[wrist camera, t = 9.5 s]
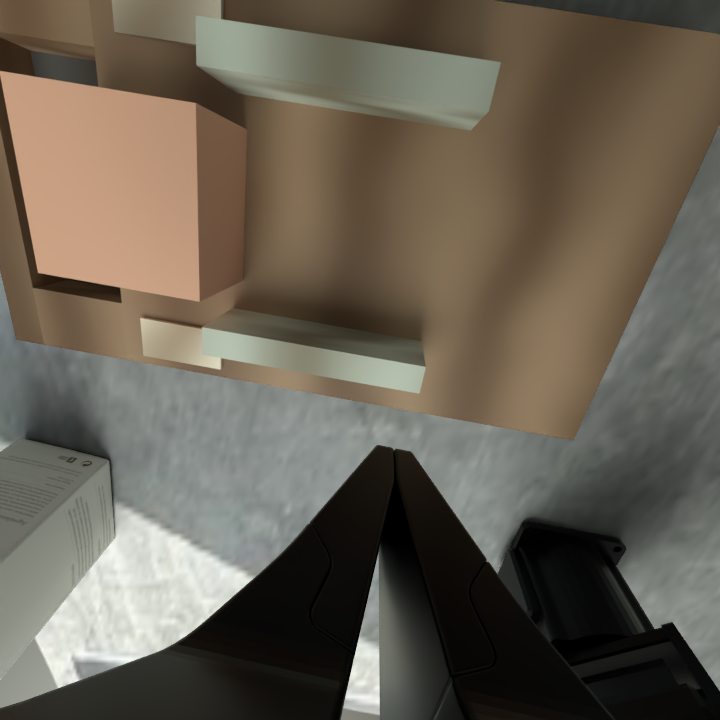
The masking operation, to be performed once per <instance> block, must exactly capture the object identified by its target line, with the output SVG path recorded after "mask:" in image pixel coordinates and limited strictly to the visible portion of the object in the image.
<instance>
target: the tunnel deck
mask: <svg viewBox="0 0 720 720" xmlns="http://www.w3.org/2000/svg"><path fill="white" fill-rule="evenodd" d="M0 71H4V72H10V73H16V74H22V75H28V76H34V77H40V78H46V79H52V80H59V81H65V82H71V83H77V84H83V85H89V86H95V87H101V88H107V89H113V90H119V91H125V92H131V93H137V94H143V95H150V96H156V97H162V98H168V99H174V100H180V101H186V102H192V103H197V104H199V105H200V106H202V107H204V108H206V109H208V110H210V111H212V112H214V113H216V114H218V115H220V116H222V117H224V118H226V119H228V120H230V121H231V122H233V123H235V124H237V125H239V126H241V127H243V128H245V129H247V154H246V189H245V224H244V260H243V281H242V282H240V283H238V284H236V285H233V286H231V287H229V288H227V289H225V290H223V291H221V292H219V293H217V294H215V295H213V296H211V297H208V298H206V299H204V300H202V301H200V302H198V301H193V300H187V299H181V298H176V297H170V296H165V295H159V294H153V293H148V292H142V291H137V290H131V289H125V288H120V287H114V286H109V285H103V284H98V283H92V282H86V281H81V280H75V279H70V278H64V277H58V276H53V275H47V274H42V273H38V270H37V265H36V260H35V254H34V249H33V244H32V239H31V234H30V228H29V223H28V218H27V213H26V207H25V202H24V197H23V192H22V187H21V181H20V176H19V171H18V166H17V161H16V155H15V150H14V145H13V140H12V134H11V129H10V124H9V119H8V114H7V108H6V103H5V98H4V93H3V87H2V82H1V77H0V271H1V275H2V280H3V284H4V288H5V292H6V297H7V301H8V305H9V309H10V314H11V318H12V322H13V327H14V331H15V335H16V339H17V340H22V341H27V342H33V343H38V344H44V345H49V346H55V347H61V348H66V349H72V350H77V351H83V352H88V353H94V354H99V355H105V356H110V357H116V358H121V359H127V360H132V361H138V362H143V363H149V364H154V365H160V366H165V367H171V368H177V369H182V370H188V371H193V372H199V373H204V374H210V375H215V376H221V377H226V378H232V379H237V380H243V381H248V382H254V383H259V384H265V385H270V386H276V387H282V388H287V389H293V390H298V391H304V392H309V393H315V394H320V395H326V396H331V397H337V398H342V399H348V400H353V401H359V402H364V403H370V404H375V405H381V406H386V407H392V408H398V409H403V410H409V411H414V412H420V413H425V414H431V415H436V416H442V417H447V418H453V419H458V420H464V421H469V422H475V423H480V424H486V425H491V426H497V427H503V428H508V429H514V430H519V431H525V432H530V433H536V434H541V435H547V436H552V437H558V438H563V439H569V440H574V438H575V436H576V433H577V431H578V429H579V427H580V425H581V423H582V421H583V418H584V416H585V414H586V412H587V410H588V408H589V405H590V403H591V401H592V399H593V397H594V395H595V392H596V390H597V388H598V386H599V384H600V382H601V379H602V377H603V375H604V373H605V371H606V369H607V366H608V364H609V362H610V360H611V358H612V356H613V353H614V351H615V349H616V347H617V345H618V343H619V340H620V338H621V336H622V334H623V332H624V330H625V327H626V325H627V323H628V321H629V319H630V317H631V315H632V312H633V310H634V308H635V306H636V304H637V302H638V299H639V297H640V295H641V293H642V291H643V289H644V286H645V284H646V282H647V280H648V278H649V276H650V273H651V271H652V269H653V267H654V265H655V263H656V260H657V258H658V256H659V254H660V252H661V250H662V247H663V245H664V243H665V241H666V239H667V237H668V234H669V232H670V230H671V228H672V226H673V224H674V221H675V219H676V217H677V215H678V213H679V211H680V208H681V206H682V204H683V202H684V200H685V198H686V196H687V193H688V191H689V189H690V187H691V185H692V183H693V180H694V178H695V176H696V174H697V172H698V170H699V167H700V165H701V163H702V161H703V159H704V157H705V154H706V152H707V150H708V148H709V146H710V144H711V141H712V139H713V137H714V135H715V133H716V131H717V128H718V126H719V124H720V34H716V33H710V32H703V31H696V30H689V29H683V28H676V27H669V26H663V25H656V24H649V23H643V22H636V21H629V20H623V19H616V18H609V17H603V16H596V15H589V14H582V13H576V12H569V11H562V10H556V9H549V8H542V7H536V6H529V5H522V4H516V3H509V2H502V1H496V0H0Z"/></svg>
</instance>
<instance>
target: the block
mask: <svg viewBox="0 0 720 720" xmlns="http://www.w3.org/2000/svg"><path fill="white" fill-rule="evenodd" d="M0 77H1V82H2V87H3V93H4V98H5V103H6V108H7V114H8V119H9V124H10V129H11V134H12V140H13V145H14V150H15V155H16V161H17V166H18V171H19V176H20V181H21V187H22V192H23V197H24V202H25V207H26V213H27V218H28V223H29V228H30V234H31V239H32V244H33V249H34V254H35V260H36V265H37V270H38V273H42V274H47V275H53V276H58V277H64V278H70V279H75V280H81V281H86V282H92V283H98V284H103V285H109V286H114V287H120V288H125V289H131V290H137V291H142V292H148V293H153V294H159V295H165V296H170V297H176V298H181V299H187V300H193V301H198V302H200V301H202V300H204V299H206V298H208V297H211V296H213V295H215V294H217V293H219V292H221V291H223V290H225V289H227V288H229V287H231V286H233V285H236V284H238V283H240V282H242V281H243V260H244V224H245V189H246V154H247V129H245V128H243V127H241V126H239V125H237V124H235V123H233V122H231V121H230V120H228V119H226V118H224V117H222V116H220V115H218V114H216V113H214V112H212V111H210V110H208V109H206V108H204V107H202V106H200V105H199V104H197V103H192V102H186V101H180V100H174V99H168V98H162V97H156V96H150V95H143V94H137V93H131V92H125V91H119V90H113V89H107V88H101V87H95V86H89V85H83V84H77V83H71V82H65V81H59V80H52V79H46V78H40V77H34V76H28V75H22V74H16V73H10V72H4V71H0Z"/></svg>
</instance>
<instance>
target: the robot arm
mask: <svg viewBox="0 0 720 720" xmlns="http://www.w3.org/2000/svg"><path fill="white" fill-rule="evenodd" d="M529 530H530V531H529ZM625 551H626V547H625V545H624V544H623V542H622V541H621V540H620V539H617V538H612V537H607V536H601V535H596V534H591V533H585V532H580V531H575V530H569V529H564V528H559V527H553V526H548V525H543V524H537V523H532V522H527V523H524V524H522V526H521V527H520V529H519V532H518V534H517V536H516V538H515V541H514V543H513V545H512V547H511V549H510V550H509V551H508V553H507V555H506V557H505V559H504V562H503V564H502V566H501V568H500V571H499V573H498V574H497V573H496V572H495V570H494V569H493V567H492V566H491V564H490V563H489V562H486V561H487V560H486V558H485V556H484V555H483V553H482V552H481V550H480V549H479V548H478V546H477V545H476V543H475V542H474V540H473V539H472V538H471V536H470V535H469V533H468V532H467V530H466V529H465V528H464V526H463V525H462V523H461V522H460V520H459V519H458V518H457V516H456V515H455V513H454V512H453V510H452V509H451V508H450V506H449V505H448V503H447V502H446V501H445V499H444V498H443V496H442V495H441V493H440V492H439V491H438V489H437V488H436V486H435V485H434V483H433V482H432V481H431V479H430V478H429V476H428V475H427V473H426V472H425V471H424V469H423V468H422V466H421V465H420V463H419V462H418V461H417V459H416V458H415V456H414V455H413V454H412V452H410V451H406V450H401V449H395V450H393V448H391V447H386V446H381V445H377V446H376V447H375V448H374V449H373V450H372V451H371V452H370V453H369V455H368V456H367V457H366V458H365V459H364V460H363V462H362V463H361V464H360V465H359V466H358V467H357V468H356V470H355V471H354V472H353V473H352V474H351V475H350V477H349V478H348V479H347V480H346V481H345V482H344V483H343V485H342V486H341V487H340V488H339V489H338V490H337V492H336V493H335V494H334V495H333V496H332V497H331V498H330V500H329V501H328V502H327V503H326V504H325V505H324V507H323V508H322V509H321V510H320V511H319V512H318V513H317V515H316V516H315V517H314V518H313V519H312V520H311V522H310V524H308V525H307V526H306V527H305V528H304V529H303V530H302V532H301V533H300V534H299V535H298V536H297V537H296V538H295V539H294V540H293V542H292V543H291V544H290V545H289V546H288V547H287V548H286V549H285V550H284V551H283V552H282V553H281V554H280V555H279V556H278V557H277V558H276V559H275V560H274V561H273V562H271V563H270V564H269V565H268V566H267V567H266V568H265V569H264V570H263V571H262V572H261V573H260V574H258V575H257V576H256V577H255V578H254V579H253V580H252V581H250V582H249V583H248V584H247V585H246V586H245V587H244V588H242V589H241V590H240V591H239V592H238V593H237V594H236V595H234V596H233V597H232V598H231V599H230V600H229V601H228V602H226V603H225V604H224V605H223V606H222V607H221V608H220V609H218V610H217V611H216V612H215V613H214V614H213V615H212V616H210V617H209V618H208V619H207V620H206V621H205V622H203V623H202V624H201V625H200V626H199V627H197V628H196V629H195V630H194V631H192V632H191V633H190V634H188V635H187V636H185V637H184V638H182V639H181V640H179V641H178V642H176V643H175V644H173V645H171V646H169V647H167V648H165V649H163V650H161V651H159V652H156V653H154V654H151V655H148V656H146V657H143V658H140V659H137V660H135V661H132V662H129V663H126V664H124V665H121V666H118V667H115V668H113V669H110V670H107V671H105V672H102V673H99V674H96V675H94V676H91V677H88V678H85V679H83V680H80V681H77V682H74V683H72V684H69V685H66V686H64V687H61V688H58V689H56V690H53V691H50V692H47V693H45V694H42V695H39V696H36V697H34V698H31V699H28V700H25V701H23V702H19V703H16V704H13V705H10V706H6V707H3V708H0V720H341V715H342V710H343V705H344V700H345V695H346V691H347V686H348V682H349V677H350V673H351V669H352V664H353V659H354V655H355V651H356V647H357V643H358V638H359V634H360V630H361V625H362V621H363V617H364V612H365V608H366V604H367V599H368V595H369V591H370V586H371V582H372V578H373V573H374V569H375V565H376V560H377V556H378V552H379V654H380V720H720V691H719V690H718V688H717V687H716V685H715V684H714V682H713V681H712V679H711V678H710V676H709V675H708V674H707V672H706V671H705V669H704V668H703V666H702V665H701V663H700V662H699V660H698V659H697V657H696V656H695V655H694V653H693V652H692V650H691V649H690V647H689V646H688V644H687V643H686V641H685V640H684V639H683V637H682V636H681V634H680V633H679V631H678V630H677V628H676V627H675V625H674V624H673V623H672V622H671V623H667V624H663V625H661V626H662V627H661V628H658V629H654V627H653V626H652V624H651V622H650V621H649V619H648V617H647V616H646V614H645V612H644V611H643V609H642V608H641V606H640V604H639V603H638V601H637V599H636V598H635V596H634V594H633V593H632V591H631V590H630V588H629V586H628V585H627V583H626V581H625V580H624V578H623V576H622V575H621V573H620V571H619V570H618V568H617V567H616V565H617V564H618V562H619V561H620V559H621V557H622V556H623V554H624V552H625Z"/></svg>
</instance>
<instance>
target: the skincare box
mask: <svg viewBox="0 0 720 720" xmlns="http://www.w3.org/2000/svg"><path fill="white" fill-rule="evenodd" d="M114 539H115V532H114V519H113V506H112V492H111V478H110V465H109V460H107V459H104V458H100V457H97V456H93V455H89V454H85V453H81V452H77V451H73V450H69V449H65V448H61V447H57V446H52V445H48V444H44V443H40V442H36V441H31V440H27V439H20V440H18V441H16V442H15V443H13V444H12V445H10V446H9V447H7V448H6V449H4V450H3V451H1V452H0V680H1V679H2V677H3V676H4V675H5V674H6V672H7V671H8V670H9V669H10V667H11V666H12V665H13V664H14V662H15V661H16V660H17V659H18V657H19V656H20V655H21V654H22V653H23V651H24V650H25V649H26V647H27V646H28V645H29V644H30V643H31V641H32V640H33V639H34V638H35V636H36V635H37V634H38V633H39V631H40V630H41V629H42V628H43V627H44V625H45V624H46V623H47V622H48V620H49V619H50V618H51V617H52V615H53V614H54V613H55V612H56V610H57V609H58V608H59V607H60V605H61V604H62V603H63V602H64V600H65V599H66V598H67V597H68V595H69V594H70V593H71V592H72V590H73V589H74V588H75V587H76V585H77V584H78V583H79V582H80V580H81V579H82V578H83V577H84V575H85V574H86V573H87V572H88V571H89V569H90V568H91V567H92V566H93V564H94V563H95V562H96V561H97V559H98V558H99V557H100V556H101V555H102V553H103V552H104V551H105V550H106V548H107V547H108V546H109V545H110V543H111V542H112V541H113V540H114Z"/></svg>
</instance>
